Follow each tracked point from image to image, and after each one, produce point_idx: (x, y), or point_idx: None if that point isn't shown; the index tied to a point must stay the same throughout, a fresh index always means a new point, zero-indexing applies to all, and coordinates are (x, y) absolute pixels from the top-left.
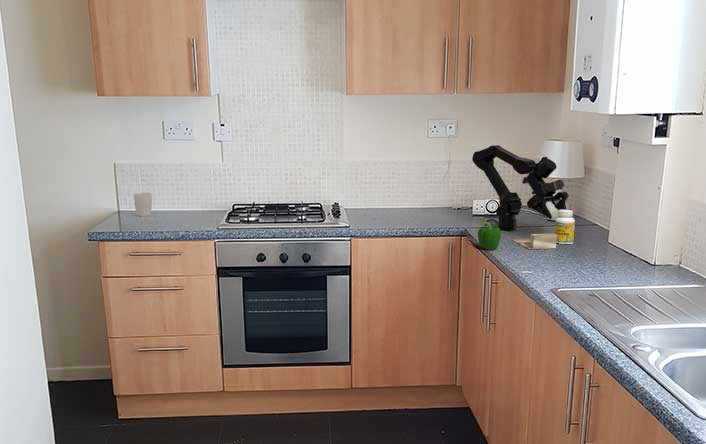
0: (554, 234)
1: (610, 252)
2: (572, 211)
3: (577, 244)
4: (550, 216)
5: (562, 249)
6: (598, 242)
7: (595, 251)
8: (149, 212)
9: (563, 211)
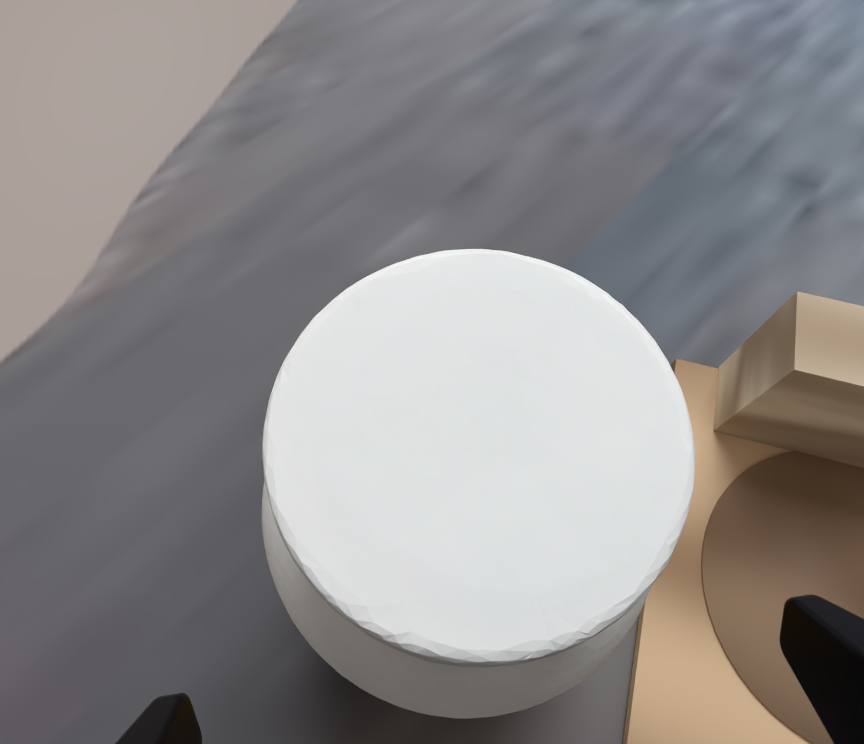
0: (812, 329)
1: (319, 133)
2: (380, 271)
3: None
4: (846, 626)
5: None
6: (55, 422)
7: (408, 192)
8: None
9: (635, 349)
